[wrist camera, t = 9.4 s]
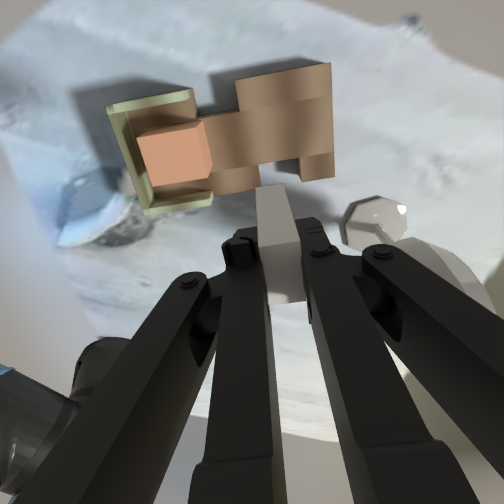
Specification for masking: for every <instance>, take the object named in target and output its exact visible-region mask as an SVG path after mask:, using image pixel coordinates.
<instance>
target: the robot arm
mask: <svg viewBox="0 0 504 504" xmlns="http://www.w3.org/2000/svg"><path fill="white" fill-rule="evenodd" d="M255 190H256V210H257V227H250V228H244V229H238V230H237V231H236V232H235V234H234V235H233V238H230V239H228V240H227V241H225V242H224V243H223V244H222V246H221V248H222V252H223V256H224V260H225V264H226V270H225V271H224V272H223V273H221V274H219V275H217V276H214V277H212V278H209V279H207V277H206V275H205V274H204V273H202V272H188V273H185V274H182V275H181V276H179V277H177V278H176V279H175V280H174V281H173V282H172V283H171V285H170V286H169V288H168V289H167V290H166V292H165V293H164V294H163V296H162V297H161V299H160V300H159V301H158V303H157V304H156V305H155V307H154V308H153V310H152V311H151V312H150V314H149V315H148V317H147V318H146V319H145V321H144V322H143V323H142V325H141V326H140V328H139V329H138V330H137V332H136V333H135V334H134V336H133V337H132V339H131V340H127V339H121V338H106V339H101V340H98V341H95V342H93V343H91V344H90V345H88V346H87V347H86V348H85V349H84V351H83V352H82V354H81V356H80V357H79V359H78V361H77V364H76V367H75V373H74V378H73V384H72V390H71V394H70V396H69V398H67V397H65V396H64V395H62V394H60V393H58V392H56V391H54V390H52V389H50V388H48V387H46V386H44V385H43V384H41V383H39V382H37V381H35V380H33V379H31V378H29V377H27V376H25V375H23V374H21V373H19V372H17V371H16V370H15V368H13V367H6V366H4V365H2V364H0V491H2V492H4V493H7V494H10V495H12V496H13V497H12V498H11V499H10V501H9V503H8V504H153V503H154V500H155V498H156V495H157V493H158V490H159V488H160V485H161V483H162V481H163V478H164V476H165V473H166V471H167V468H168V466H169V463H170V461H171V458H172V456H173V454H174V451H175V449H176V446H177V444H178V442H179V439H180V437H181V434H182V432H183V429H184V427H185V424H186V422H187V419H188V417H189V415H190V412H191V410H192V407H193V405H194V403H195V400H196V398H197V395H198V393H199V390H200V388H201V386H202V383H203V381H204V378H205V376H206V373H207V371H208V368H209V366H210V364H211V361H212V359H213V356H214V354H215V351H216V356H215V365H214V374H213V382H212V391H211V400H210V408H209V417H208V426H207V435H206V443H205V451H204V457H203V460H202V462H200V463H199V464H197V465H196V467H195V469H194V471H193V475H192V480H191V485H190V491H189V498H188V504H288V503H287V492H286V481H285V470H284V460H283V448H282V437H281V426H280V415H279V404H278V392H277V381H276V370H275V359H274V348H273V337H272V326H271V315H270V309H269V306H271V305H279V304H286V303H294V302H301V301H306V298H307V308H308V318H309V324H311V325H312V330H313V334H314V338H315V342H316V346H317V350H318V355H319V359H320V363H321V367H322V371H323V375H324V380H325V384H326V388H327V392H328V396H329V400H330V405H331V409H332V413H333V417H334V421H335V425H336V430H337V434H338V438H339V442H340V446H341V450H342V454H343V459H344V462H345V467H346V471H347V475H348V480H349V484H350V488H351V492H352V496H353V500H354V504H480V502H479V501H478V499H477V497H476V495H475V493H474V491H473V489H472V487H471V485H470V484H469V482H468V480H467V478H466V476H465V474H464V472H463V471H462V469H461V467H460V465H459V463H458V461H457V459H456V458H455V456H454V455H453V453H452V451H451V450H450V448H449V447H448V446H447V445H446V444H445V443H444V442H443V441H441V440H437V439H434V438H433V437H432V436H431V435H430V433H429V431H428V429H427V428H426V426H425V424H424V422H423V420H422V418H421V416H420V414H419V411H418V409H417V407H416V405H415V403H414V401H413V399H412V397H411V395H410V393H409V391H408V389H407V387H406V385H405V383H404V381H403V379H402V377H401V375H400V373H399V371H398V369H397V367H396V365H395V363H394V361H393V359H392V357H391V355H390V353H389V351H388V349H387V347H386V345H385V343H386V344H387V345H388V346H389V347H390V348H391V349H392V351H393V352H394V353H395V354H396V355H397V356H398V358H399V359H400V360H401V361H402V362H403V363H404V365H405V366H406V367H407V368H408V369H409V370H410V371H411V373H412V374H413V375H414V376H415V377H416V378H417V380H418V381H419V382H420V383H421V384H422V385H423V387H424V388H425V389H426V390H427V391H428V392H429V393H430V395H431V396H432V397H433V398H434V399H435V400H436V401H437V403H438V404H439V405H440V406H441V407H442V409H444V411H445V412H446V413H447V414H448V415H449V417H450V418H451V419H452V420H453V421H454V422H455V423H456V425H457V426H458V427H459V428H460V429H461V431H462V432H463V433H464V434H465V435H466V436H467V437H468V439H469V440H470V441H471V442H472V443H473V444H474V446H475V447H476V448H477V449H478V450H479V451H480V453H481V454H482V455H483V456H484V457H485V458H486V460H487V461H488V462H489V463H490V464H491V465H492V466H493V468H494V469H495V470H496V471H497V472H498V473H499V475H500V476H501V477H502V478H503V479H504V320H503V319H501V318H500V317H499V316H497V315H496V314H494V313H493V312H491V311H490V310H488V309H487V308H485V307H484V306H483V305H481V304H480V303H478V302H477V301H475V300H474V299H472V298H471V297H469V296H468V295H467V294H465V293H464V292H462V291H461V290H459V289H458V288H456V287H455V286H453V285H452V284H451V283H449V282H448V281H446V280H445V279H443V278H442V277H440V276H439V275H437V274H436V273H435V272H433V271H432V270H430V269H429V268H427V267H426V266H424V265H423V264H421V263H420V262H419V261H417V260H416V259H414V258H413V257H411V256H410V255H408V254H407V253H405V252H404V251H403V250H401V249H400V248H398V247H395V246H393V245H388V244H375V245H370V246H368V247H366V248H365V249H364V250H363V251H362V256H350V255H344V254H341V253H340V251H339V249H338V248H337V247H336V246H334V245H332V244H330V242H329V240H328V237H327V235H326V233H325V232H324V229H323V227H322V225H321V222H320V221H319V220H317V219H316V218H314V217H310V218H303V219H297V220H294V218H293V215H292V212H291V208H290V205H289V202H288V198H287V195H286V192H285V188H284V185H283V183H282V184H276V185H269V186H263V187H257V188H255ZM384 341H385V343H384Z"/></svg>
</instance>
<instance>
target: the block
mask: <svg viewBox="0 0 504 504" xmlns="http://www.w3.org/2000/svg"><path fill="white" fill-rule="evenodd" d="M136 139H137V142H138V145H139V148H140V151H141V154H142V157H143V160H144V163H145V166H146V169H147V172H148V175H149V178H150V181H151V183H152V186H153V187H154V186H160V185H167V184H173V183H179V182H185V181H191V180H197V179H203V178H208V176H209V173H210V171H211V168H212V166H213V164H212V159H211V155H210V151H209V146H208V142H207V137H206V133H205V128H204V124H203V120H202V121H196V122H190V123H185V124H179V125H174V126H168V127H163V128H157V129H151V130H149V131H147V132H146V133H144V134H142V135H141V136H139V137H137V138H136Z"/></svg>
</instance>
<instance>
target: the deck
mask: <svg viewBox="0 0 504 504" xmlns="http://www.w3.org/2000/svg"><path fill="white" fill-rule="evenodd" d="M235 86H236V92H237V98H238V104H239V109H236V110H231V111H225V112H220V113H214V114H209V115H203V116H199V113H198V109H197V105H196V100H195V96H194V92H193V88H191V89H185V90H180V91H175V92H170V93H164V94H159V95H154V96H149V97H143V98H138V99H133V100H128V101H123V102H119V103H115V104H111V105H107V106H105V108H106V111H107V114H108V116H109V119H110V122H111V124H112V127H113V130H114V133H115V135H116V138H117V141H118V144H119V146H120V149H121V152H122V154H123V157H124V160H125V163H126V165H127V168H128V171H129V174H130V176H131V178H132V181H133V184H134V187H135V190H136V193H137V195H138V198H139V201H140V203H141V206H142V209H143V212H144V214H145V216H148V215H154V214H160V213H167V212H173V211H179V210H186V209H192V208H198V207H204V206H211V204H212V200H213V197H214V196H219V195H226V194H232V193H238V192H244V191H250V190H255V188H257V187H261V181H260V174H259V168H258V164H264V163H270V162H276V161H282V160H288V159H294V158H297V164H298V175H299V177H300V179H301V182H306V181H313V180H319V179H325V178H331V177H335V166H334V136H333V105H332V74H331V62H330V63H322V64H317V65H312V66H306V67H301V68H296V69H291V70H285V71H280V72H275V73H270V74H264V75H259V76H254V77H249V78H243V79H238V80H235ZM202 120H203V124H204V128H205V133H206V137H207V142H208V146H209V151H210V155H211V159H212V164H213V166H212V168H211V171H210V173H209V176H208V178H203V179H197V180H191V181H185V182H179V183H173V184H167V185H160V186H154V187H153V186H152V183H151V181H150V178H149V175H148V172H147V169H146V166H145V163H144V160H143V157H142V154H141V151H140V148H139V145H138V142H137V139H136V138H137V137H139V136H141V135H142V134H144V133H146V132H147V131H149V130H151V129H157V128H163V127H168V126H174V125H179V124H185V123H190V122H196V121H202Z"/></svg>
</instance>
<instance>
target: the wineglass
mask: <svg viewBox="0 0 504 504" xmlns="http://www.w3.org/2000/svg"><path fill="white" fill-rule="evenodd" d="M406 229H407V221H406V208H405V205H402V204H399V203H396V202H394V201H391V200H388V199H386V198H383V197H381V198H378V199H374V200H371V201H367V202H363V203H360V204H357V205H356V207H355V208H354V210H353V212H352V214H351V216H350V217H349V219H348V221H347V223H346V225H345V230H346V235H347V241H348V246H349V247H350V248H352V249H355V250H358V251H363V250H364V249H365V248H366V247H368V246H370V245H375V244H388V245H393V246H395V247H398V248H400V249H401V250H403V251H404V252H405V253H407V254H408V255H410V256H411V257H413V258H414V259H416V260H417V261H419V262H420V263H421V264H423V265H424V266H426V267H427V268H429V269H430V270H432V271H433V272H435V273H436V274H437V275H439V276H440V277H442V278H443V279H445V280H446V281H448V282H449V283H451V284H452V285H453V286H455V287H456V288H458V289H459V290H461V291H462V292H464V293H465V294H467V295H468V296H469V297H471V298H472V299H474V300H475V301H477V302H478V303H480V304H481V305H483V306H484V307H485V308H487V309H488V310H490V311H491V312H493V313H494V314H496V311H495V309H494V307H493V305H492V302H491V300H490V298H489V295H488V293H487V291H486V290H485V288H484V287H483V286H482V284H481V283H480V281H479V280H478V279H477V277H476V276H475V275H474V273H473V272H472V270H471V269H470V268H469V267H468V266H467V265H466V264H465V263H464V262H463V261H462V260H461V259H460V258H458V257H457V256H456V255H455V254H454V253H452V252H450V251H448V250H445V249H443V248H441V247H439V246H436V245H434V244H431V243H429V242H426V241H423V240H420V239H417V238H415V237H410V238H406V239H402V240H400V238H401V237H402V235H403V234H404V232H405V231H406Z"/></svg>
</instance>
